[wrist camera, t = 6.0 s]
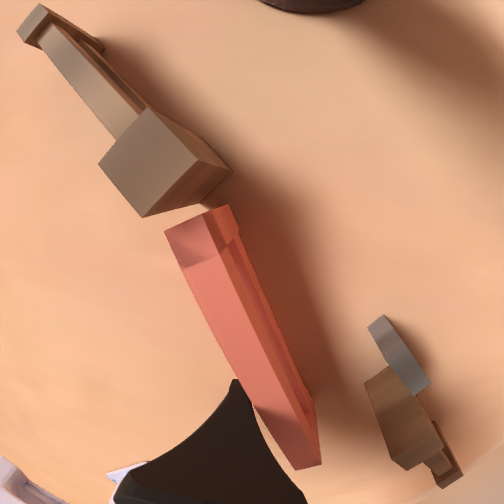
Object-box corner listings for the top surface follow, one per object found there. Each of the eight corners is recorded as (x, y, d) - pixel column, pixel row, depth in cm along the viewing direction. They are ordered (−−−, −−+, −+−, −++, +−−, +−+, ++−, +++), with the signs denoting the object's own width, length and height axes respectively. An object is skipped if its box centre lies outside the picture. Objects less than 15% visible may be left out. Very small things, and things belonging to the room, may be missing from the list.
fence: (452, 419, 14) (481, 469, 9) (419, 442, 15) (441, 495, 9) (107, 21, 10) (52, -21, 5) (71, 60, 11) (7, 31, 5)
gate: (202, 214, 12) (163, 231, 8) (228, 203, 12) (201, 213, 8) (293, 408, 14) (295, 470, 10) (314, 402, 14) (321, 464, 9)
